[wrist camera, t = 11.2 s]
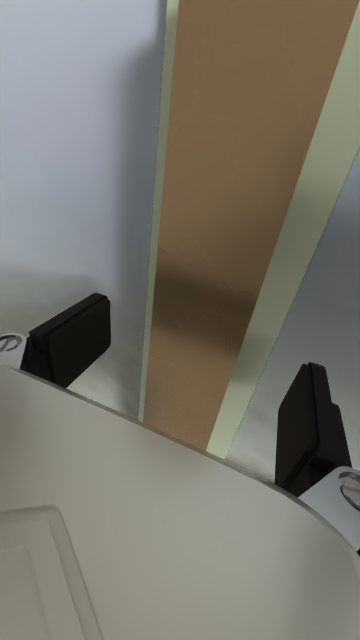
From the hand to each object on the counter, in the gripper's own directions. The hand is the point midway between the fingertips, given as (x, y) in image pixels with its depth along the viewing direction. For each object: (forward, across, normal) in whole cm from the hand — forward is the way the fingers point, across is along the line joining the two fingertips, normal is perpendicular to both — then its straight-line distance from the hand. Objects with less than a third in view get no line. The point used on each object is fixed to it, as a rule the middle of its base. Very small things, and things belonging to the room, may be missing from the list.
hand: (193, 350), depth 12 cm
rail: (+2, 0, 0) cm, 2 cm away
